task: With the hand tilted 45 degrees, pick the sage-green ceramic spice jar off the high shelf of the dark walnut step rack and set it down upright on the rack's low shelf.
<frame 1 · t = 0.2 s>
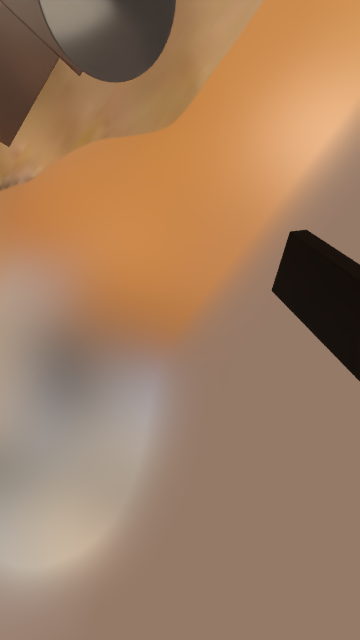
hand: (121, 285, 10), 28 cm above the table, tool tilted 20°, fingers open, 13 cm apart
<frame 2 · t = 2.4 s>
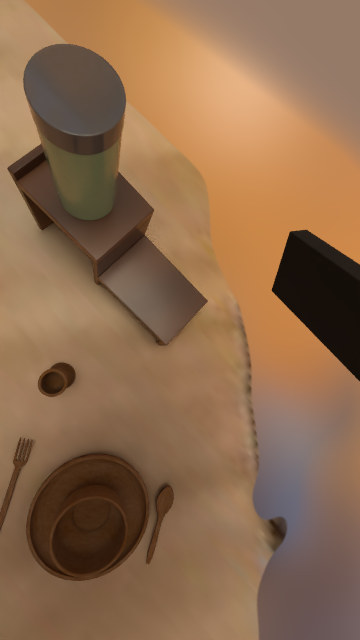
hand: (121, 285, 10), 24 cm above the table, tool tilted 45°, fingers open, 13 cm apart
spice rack: (122, 268, 34), on the table
spice jar: (86, 193, 24), point 10 cm above the table, touching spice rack
place setting: (100, 467, 32), on the table
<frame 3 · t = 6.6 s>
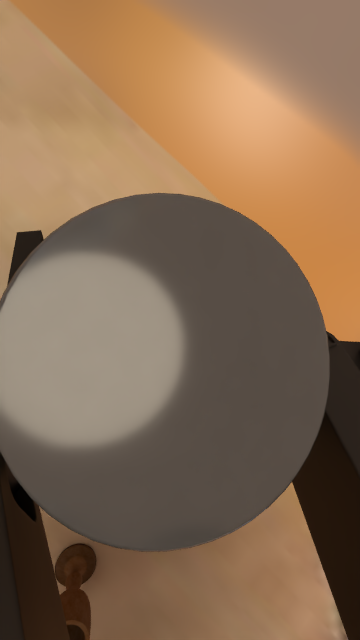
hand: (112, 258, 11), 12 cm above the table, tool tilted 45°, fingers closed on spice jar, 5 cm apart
spice jar: (125, 350, 13), point 10 cm above the table, touching gripper
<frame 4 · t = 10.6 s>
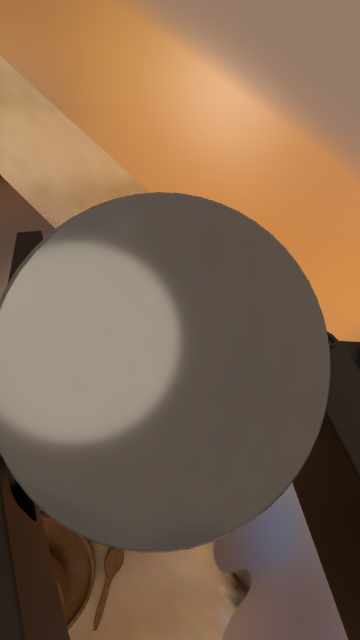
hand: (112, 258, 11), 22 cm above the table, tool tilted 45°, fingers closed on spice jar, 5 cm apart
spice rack: (70, 308, 31), on the table
spice jar: (125, 349, 13), point 20 cm above the table, touching gripper
place setting: (43, 526, 29), on the table
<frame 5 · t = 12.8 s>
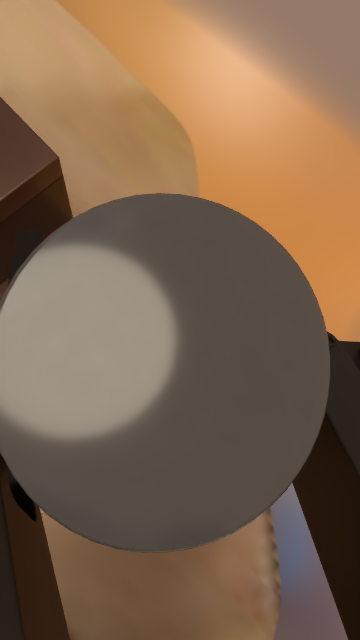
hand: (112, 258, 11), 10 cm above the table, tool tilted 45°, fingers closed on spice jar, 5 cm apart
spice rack: (47, 282, 20), on the table
spice jar: (125, 350, 13), point 7 cm above the table, touching gripper
when the fingers open (6 cm above the table, at t = 14.3 s): spice jar stays where it is, resting on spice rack.
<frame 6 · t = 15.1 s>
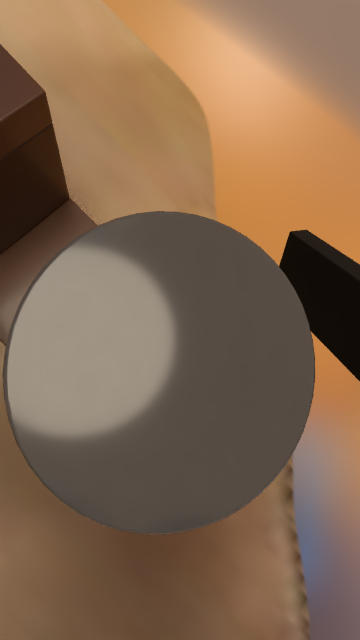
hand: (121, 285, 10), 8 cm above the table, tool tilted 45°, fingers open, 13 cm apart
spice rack: (40, 273, 17), on the table
spice jar: (126, 351, 14), point 4 cm above the table, touching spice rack
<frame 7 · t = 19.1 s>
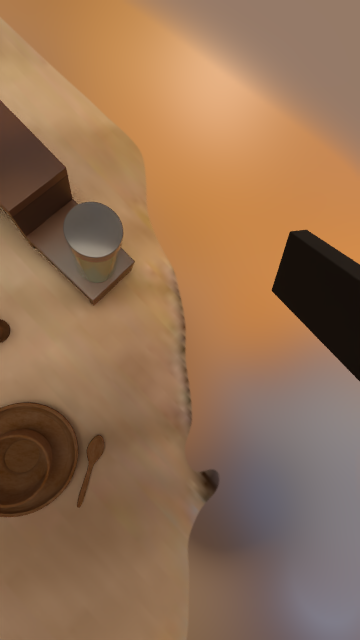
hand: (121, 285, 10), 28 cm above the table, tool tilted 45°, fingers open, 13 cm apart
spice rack: (58, 233, 36), on the table
spice jar: (96, 263, 33), point 4 cm above the table, touching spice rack
place setting: (34, 417, 34), on the table
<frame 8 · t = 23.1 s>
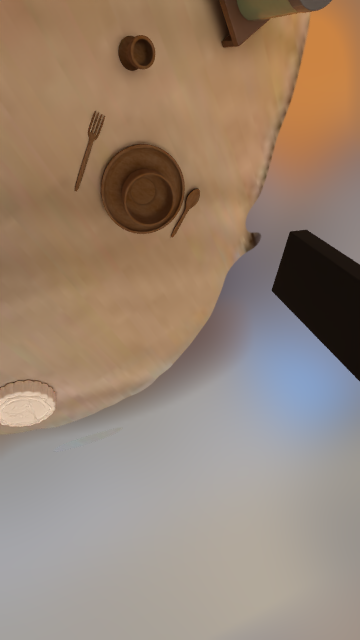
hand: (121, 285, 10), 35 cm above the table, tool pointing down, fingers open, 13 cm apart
mooncake: (25, 397, 61), on the table
place setting: (151, 160, 40), on the table
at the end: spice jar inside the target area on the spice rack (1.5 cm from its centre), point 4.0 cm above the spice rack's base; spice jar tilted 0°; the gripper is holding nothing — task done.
